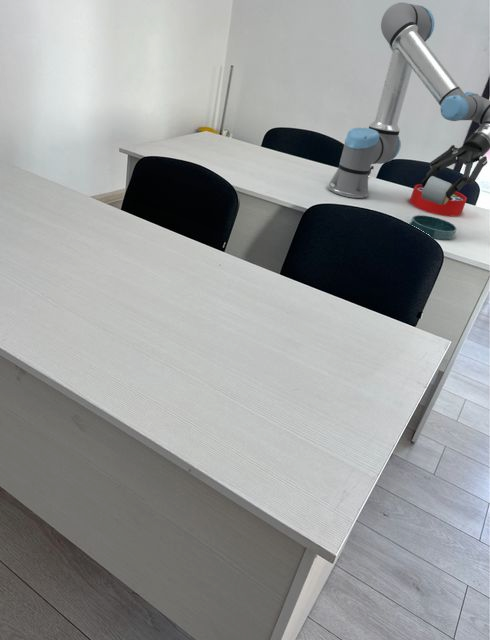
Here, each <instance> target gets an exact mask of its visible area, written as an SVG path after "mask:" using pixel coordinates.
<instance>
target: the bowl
mask: <svg viewBox="0 0 490 640" xmlns="http://www.w3.org/2000/svg"><path fill="white" fill-rule="evenodd" d="M410 224H411V225H413V226H415V227H417V228H419V229H420V230H422V231H424V232H425V233H427V234H429V235H430V236H431V237H433V238H432V239H436V240H443V241H444V240H452V239H454V237H455V235H456V232H457V230H458V229H457V227H456V225H454V224H453V223H451V222H449V221H447V220H444V219H441V218H439V217H434V216H431V215H422V214H420V215H419V214H418V215H413V216H412V217H411V219H410V223H409V225H410Z"/></svg>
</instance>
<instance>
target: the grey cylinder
mask: <svg viewBox="0 0 490 640" xmlns="http://www.w3.org/2000/svg"><path fill="white" fill-rule="evenodd" d="M452 185H453V184H452V183H451V182H448V181H446V180H443V179H441V178H439V177H437V176H435V177H434V176H431V177H430V178H429V179H428V181H427V183H426V185H425V187H424V189H423V192H422V196H421V198H422V199H425V200H428V201H432V202H435V203H438V204H442V205H444V204H446V203H447V201H448V200H449V198H447V195H446V192H447V191H448V189H449V188H450V187H451V186H452Z"/></svg>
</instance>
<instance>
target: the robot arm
mask: <svg viewBox="0 0 490 640" xmlns="http://www.w3.org/2000/svg"><path fill="white" fill-rule="evenodd" d="M380 30H381V33H382V36H383V37H384V39H385V41H386V42H387V43H388V44H389V45H388V46H389V49H390V50H391V54H390V59H389V63H388V67H387V71H386V74H385V77H384V78H385V79H384V82H383V87H382V90H381V94H380V99H379V103H378V105H377V109H376V114H375V118H374V121H372V122H371V123H370V124H369V126H368V127H354V128H351V129H349V130H348V132H347V134H346V137H345V140H344V144H343V148H342V153H341V156H340V160H339V164H338V167H337V170H336V172H335V173H334V175H333V177H332V178H331V180H330V181H329V183H328V185H327V186H328V187H327V189H328V190H329V191H330V192H331V193H334V194H336V195H338V196H341V197H345V198H349V199H350V198H351V199H366V198H367V197H368V194H369V176H370V175H371V173H372V170H374V169H375V168H374V167H375V166H374V165H379V164H380V165H382V164H386V163H389V162H391V161H393V160H394V159H396V157H397V156H398V154H399V152H400V150H401V147H402V142H401V139H400V136H399V135H400V131H401V129H400V128H399V125H398V123H399V119H400V116H401V112H402V109H403V104H404V101H405V97H406V95H407V94H406V93H407V90H408V86H409V83H410V79H411V75H412V72H414V73H415V74H416V76H417V77H418V78H419V81H421V82H422V83H423V86H424V87H425V88H426V89H427V90H428V92H429V93H430V94H431V95H432V97H433V98H434V99H435V101H436V102H437V104H438V105H439V106H440V114H441V116H442V118H443V119H445V120H447V121H450V122H460V121H472V122H475V123H476V124H479V125H480V126H479V127H478V128H477V129H476V130H475V131H474V132H473V133H472V134H471V135H469V137H468V138H467V139H466V140H465V141H464V144H463V145H462V146H460V147H456V146H455V145H454V144H452V145H450V147H449V148H448V149H447V150H446V151H445V152H443V153H442V154H440V155H439V156H438V157H436V158H435V159H433V160H432V161H430V162H429V166H430V169H429V170H428V171H427V172H426V174H425V177H424V178H423V179H422V180H421V181H420V184H422V187H423V188H424V187H425V185H426V183H427V181H428V179H429V178H430V177H431V176H434V177H437V175H438V172H440V171H442V170H444V169H447V168H448V167H450V166H452V165H457V164H458V163H460V164H463V165H465V167H464V171H463V174H462V175H461V177H459V178H458V179H457V180H456V181H455V182H454V183H453V184H452V186H451V187H450V188H449V189H448V191H447V192H446V195H447V198H450V197H451V196H452V195H453V194H454V193H455V192H459V191H461V190H462V188H463V187H465V185H467V184H469V185H470V186H472V185H474V184H475V182H476V181H477V178H478V177H479V175H480V173H481V171H482V170H483V168H484V167H485V166H486V165H487V164H488V157H487V156H486V154H487V153H488V152H489V151H490V100H489V99H487V98H485V97H483V96H482V95H480V94H478V93H474V92H472V91H466V92H464V91H463V90H462V89H461V87H460V85H458V83H457V82H456V80H455V79H454V78H453V76H452V75H451V74H450V73H449V71H448V70H447V69H446V67H445V66H444V65H443V64H442V63H441V61H440V60H439V59H438V57H437V56H436V54H435V53H434V52H433V50H432V49H431V48H430V46H429V45H428V44H427V41H428V40H429V39H430V37H432V35H433V32H434V30H435V18H434V15H433V13H432V11H431V10H430V9H428V8H427V7H424V6H423V5H419V4H414V3H413V4H412V3H409V2H397V3H394V4H392V5H390V6H389V7H388V8H387V9H386V10H385V12H384V13H383V15H382V17H381V20H380ZM476 162H477V163H476ZM474 163H476V165H475V166H474V168H473V165H474ZM472 169H473V170H472ZM471 171H472V172H471Z"/></svg>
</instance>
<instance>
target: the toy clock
mask: <svg viewBox="0 0 490 640" xmlns="http://www.w3.org/2000/svg"><path fill="white" fill-rule="evenodd" d="M423 189H424V188H423V187H422V184H421V183H419V184H415V185H414V186H413V190H412V193H411V195H410V198H409V203H410V205H412V206H414V207H415V208H417V209H420V210H422V211H425V212H427V213H430V214H434V215H439V216H445V217H459V216H461V215H462V214H463V210H464V207H465V205H466V203H467V200H468V197H467V196H465V195H464V194H462V193H461V192H459V191H456V192H455V193H454V194H453V195H452V196H451V197H450V198H449V200H448V201H447V203H446V204H444V205H442V204H438V203H435V202H432V201H428V200H425V199H422V198H421V196H422V192H423Z"/></svg>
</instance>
